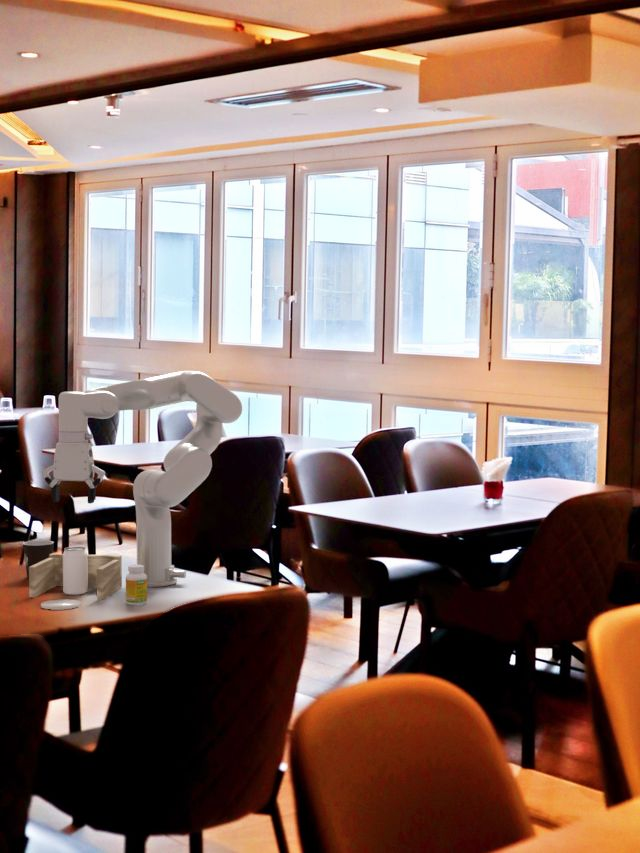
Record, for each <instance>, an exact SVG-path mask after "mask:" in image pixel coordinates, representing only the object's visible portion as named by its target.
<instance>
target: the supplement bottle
mask: <svg viewBox="0 0 640 853" xmlns="http://www.w3.org/2000/svg"><path fill="white" fill-rule="evenodd" d="M127 568H128V569H127V570H128V572H129V573H128V574H126V576H125V603H126V604H127V605H131V606H143V605H145V604H147V603H148V587H147V575H146V574H144V573H143V571H144V565H137V564H129V565H128V567H127Z"/></svg>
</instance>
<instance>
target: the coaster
mask: <svg viewBox="0 0 640 853" xmlns="http://www.w3.org/2000/svg"><path fill="white" fill-rule="evenodd" d="M79 606H80V607H81V606H82V602H81V601H80V600H77V599H72V598H71V599H68V598H64V599H63V598H61V599H60V598H59V599H52V600H46V601H43V602H41V603H40V608H41V609H43V608H44V609H43V610H48V609H51V610H50V611H65V610H64V609H67V610H73V609H72V608H74V609H77V608H79ZM76 607H77V608H76Z"/></svg>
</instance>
